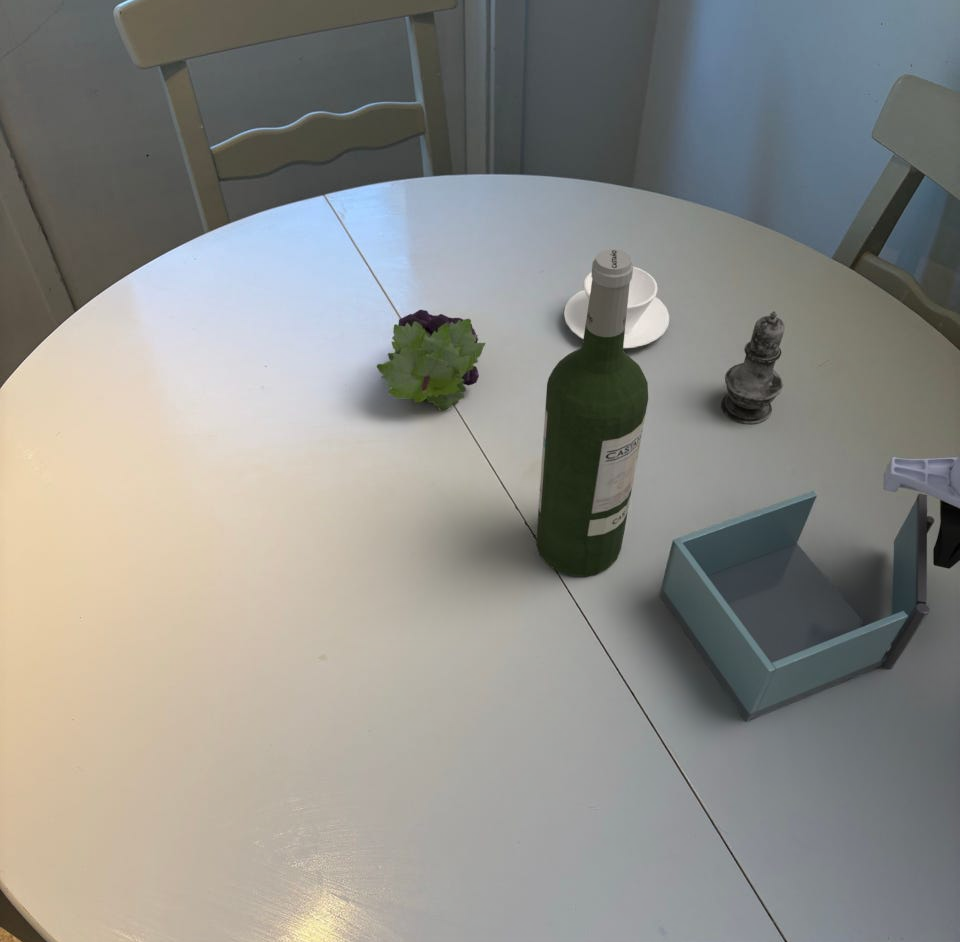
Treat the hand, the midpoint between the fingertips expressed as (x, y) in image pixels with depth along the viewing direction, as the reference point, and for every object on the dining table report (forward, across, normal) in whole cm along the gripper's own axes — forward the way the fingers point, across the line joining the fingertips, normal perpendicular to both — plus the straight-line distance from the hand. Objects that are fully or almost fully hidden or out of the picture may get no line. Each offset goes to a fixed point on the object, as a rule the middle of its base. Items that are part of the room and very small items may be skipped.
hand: (941, 558), depth 79 cm
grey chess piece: (+5, +18, -20) cm, 27 cm away
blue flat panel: (+3, +2, +2) cm, 4 cm away
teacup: (+5, +34, -30) cm, 46 cm away
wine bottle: (+5, +31, +4) cm, 31 cm away
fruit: (+5, +50, -14) cm, 52 cm away
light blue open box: (+4, +13, +8) cm, 16 cm away
